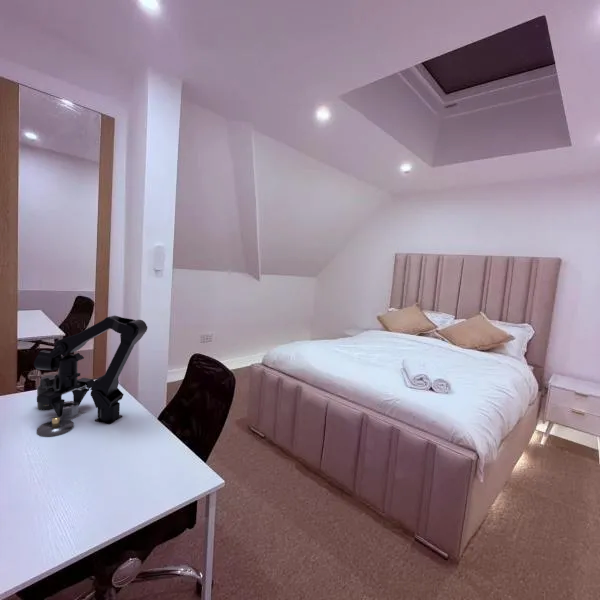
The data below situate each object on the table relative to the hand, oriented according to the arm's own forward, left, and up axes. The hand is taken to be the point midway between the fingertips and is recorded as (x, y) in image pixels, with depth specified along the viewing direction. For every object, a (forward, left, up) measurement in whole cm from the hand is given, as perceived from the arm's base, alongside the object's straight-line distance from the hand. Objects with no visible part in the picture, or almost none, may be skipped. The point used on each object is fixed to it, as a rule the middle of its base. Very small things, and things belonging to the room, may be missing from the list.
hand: (67, 412), depth 120 cm
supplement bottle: (+12, -3, -2) cm, 12 cm away
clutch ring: (0, 0, -1) cm, 1 cm away
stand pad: (0, 0, -1) cm, 1 cm away
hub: (-5, +9, -1) cm, 10 cm away
